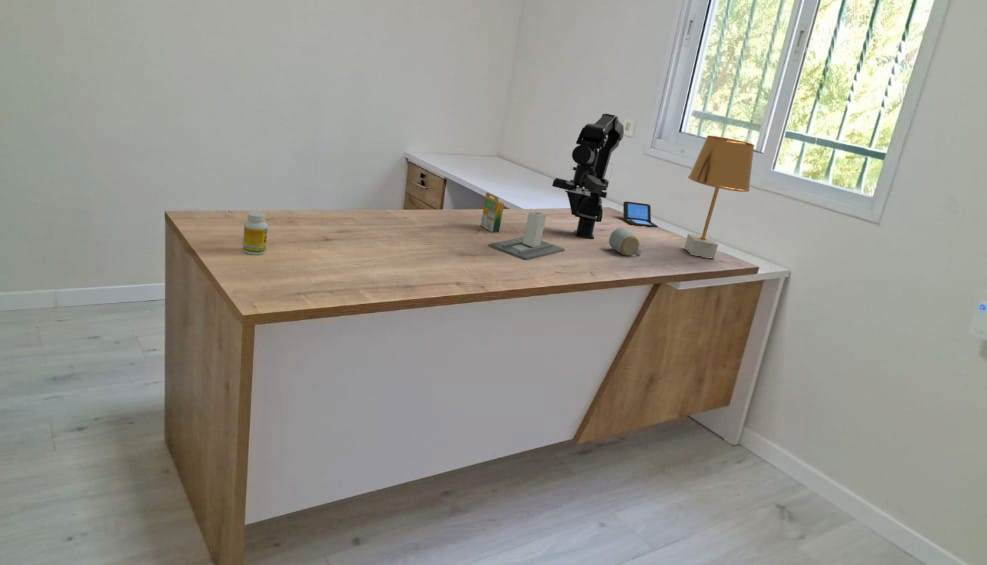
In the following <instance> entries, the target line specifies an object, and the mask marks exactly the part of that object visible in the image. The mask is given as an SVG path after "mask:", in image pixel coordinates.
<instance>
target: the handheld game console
mask: <svg viewBox="0 0 987 565" xmlns="http://www.w3.org/2000/svg"><path fill="white" fill-rule="evenodd" d="M622 204H623V205H622V206H623V219H622V220H623V221H624V222H625V223H626V224H628V225H629V226H632V225H634V226H633V227H641V226H646V227H645V228H650V227H657V228H659V226H658V224H655V223H654V222H652V217H651V216H652V214H651V213H652V210H651V209H652V207H651V205H650V204H647V203H641V202H633V201H626V200H625V201H624V202H623V203H622Z"/></svg>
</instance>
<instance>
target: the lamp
mask: <svg viewBox="0 0 987 565" xmlns="http://www.w3.org/2000/svg"><path fill="white" fill-rule="evenodd" d="M754 149H755V144H753V143H749V142H746V141H742V140H738V139H733V138H729V137H723V136H716V135H707V136H706V139H705V141H704V143H703V145H702V148H701V149H700V151H699V154H698V156H697V158H696V160H695V162H694V165H693V167H692V169H691V172H690V173H689V175H688V176H687V178H688V180H691V181H693V182H695V183H698V184H701V185H705V186H708V187H712V188H714V192H713V194H712V199H711V202H710V206H709V208H708V213H707V217H706V219H705V223H704V227H703V231H702V234H701V235H697V234H691V233H687V236H686V240H685V243H684V247H685V248H686V250H687V251H688V252H689V253H690V254H691V255H697V256H704V257H712V258H714V259H715V256H716V254H717V249H718V245H719V244H718V243H717V242H716V240H714V239H713V238H712V237H709V236H707V233H708V229H709V225H710V221H711V219H712V215H713V211H714V208H715V203H716V201H717V197H718V193H719V190H720V189H721V190H726V191H731V192H738V193H739V192H740V193H741V192H742V193H747V192H750V184H751V175H752V168H753V167H752V166H753V158H754ZM686 250H685V251H686ZM687 251H686V252H687ZM688 252H687V253H688ZM689 253H688V254H689ZM690 254H689V255H690ZM691 255H690V256H691Z"/></svg>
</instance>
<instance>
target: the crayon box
mask: <svg viewBox="0 0 987 565" xmlns="http://www.w3.org/2000/svg"><path fill="white" fill-rule="evenodd" d="M485 193H486V194H485V200H484V204H483V209H482V215H481V221H480V226H481V227H482V228H484V229H486V230H487V231H490V232H491V233H500V228H501V223H502V218H503V213H504V207H505V202H504V203H503V202H502V201H499V197H497V196H496V195H494V194H492V193H490V192H487V191H486V192H485Z"/></svg>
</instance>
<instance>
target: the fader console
mask: <svg viewBox="0 0 987 565" xmlns="http://www.w3.org/2000/svg"><path fill="white" fill-rule="evenodd" d="M523 239H524V236H522V237H518V238H513V239H508V240H500V241H497V242H493V243H489V244H488V245H487V246H488V247H491V248H493V249H496V250H498V251H501V252H503V253H506V254H509V255H511V256H514V257H517V258H519V259H523V260H524V261H527V260H528V261H529V260H533V259H536V258H540V257H544V256H548V255H551V254H556V253H560V252H564V251H565V250H566V249H565V248H563V247H561V246H557V245H555V244H552V243H549V242H547V241H544V240H543V239H541V244H540V246H537V247H531V246H528V245H526V244H523Z"/></svg>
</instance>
